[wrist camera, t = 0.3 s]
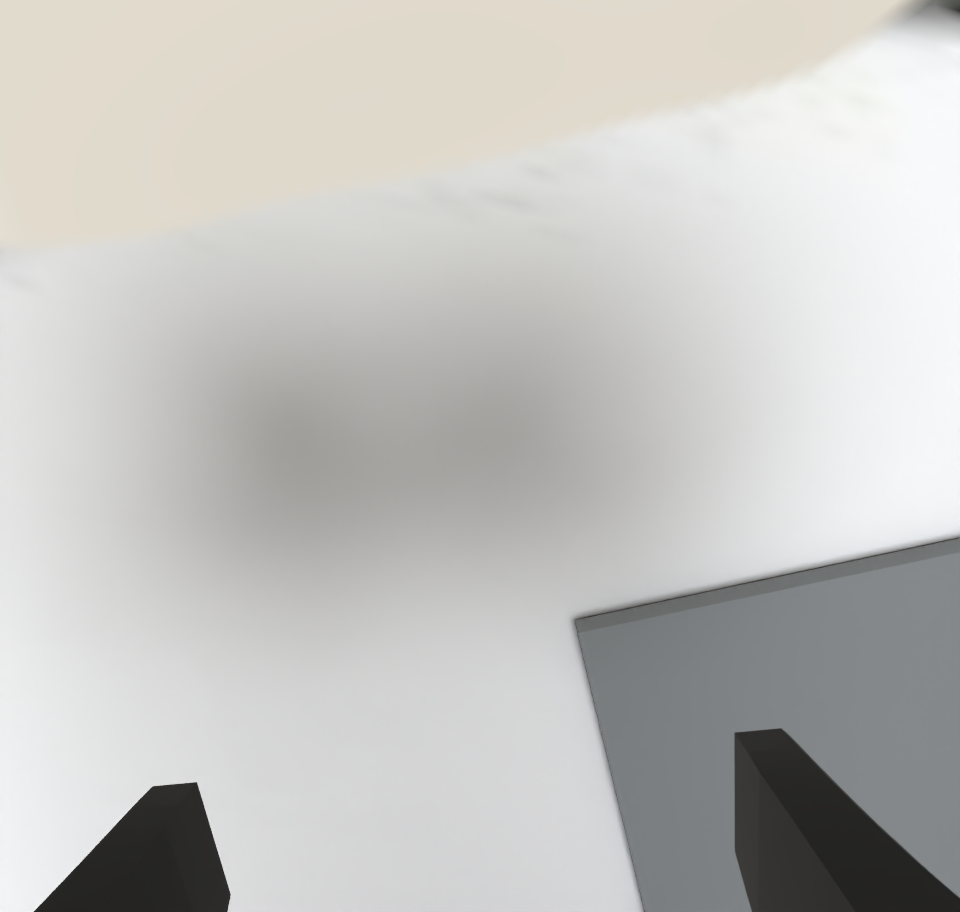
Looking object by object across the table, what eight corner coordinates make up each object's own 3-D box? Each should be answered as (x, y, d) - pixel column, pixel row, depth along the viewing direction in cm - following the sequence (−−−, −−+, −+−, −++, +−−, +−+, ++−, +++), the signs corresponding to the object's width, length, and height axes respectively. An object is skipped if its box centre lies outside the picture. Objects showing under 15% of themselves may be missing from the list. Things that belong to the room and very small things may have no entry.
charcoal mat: (982, 929, 26) (994, 947, 25) (662, 984, 27) (667, 1002, 26) (968, 536, 21) (982, 547, 20) (574, 620, 22) (577, 633, 21)
